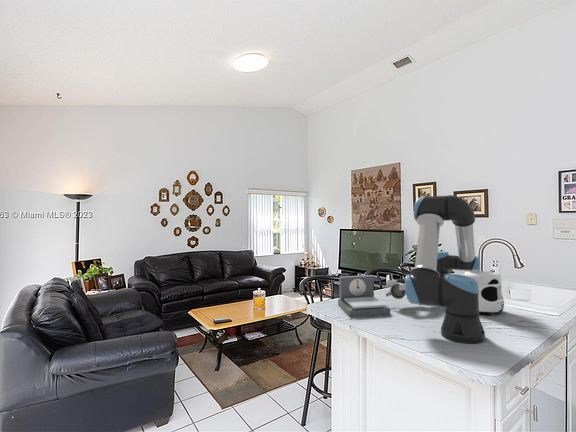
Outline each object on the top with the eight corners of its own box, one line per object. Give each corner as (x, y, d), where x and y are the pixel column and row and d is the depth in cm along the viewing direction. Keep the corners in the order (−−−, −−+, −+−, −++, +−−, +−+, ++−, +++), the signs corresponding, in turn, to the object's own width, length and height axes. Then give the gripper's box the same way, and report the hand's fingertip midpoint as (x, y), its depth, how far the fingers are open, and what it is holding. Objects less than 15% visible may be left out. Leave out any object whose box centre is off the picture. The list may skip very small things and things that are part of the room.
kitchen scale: (390, 314, 156) (389, 283, 156) (349, 316, 155) (348, 285, 154) (373, 302, 178) (373, 275, 178) (338, 304, 176) (337, 276, 176)
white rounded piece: (458, 305, 168) (457, 270, 168) (495, 306, 165) (494, 270, 165) (469, 315, 152) (468, 277, 152) (511, 317, 148) (510, 277, 148)
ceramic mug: (408, 296, 170) (407, 281, 171) (405, 299, 163) (405, 284, 163) (387, 294, 175) (386, 280, 176) (384, 298, 168) (383, 283, 168)
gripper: (444, 293, 164) (408, 297, 157) (412, 285, 185) (379, 288, 177) (443, 278, 164) (407, 282, 157) (412, 271, 185) (379, 274, 177)
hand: (392, 285), depth 167 cm, fingers closed on ceramic mug, 10 cm apart
